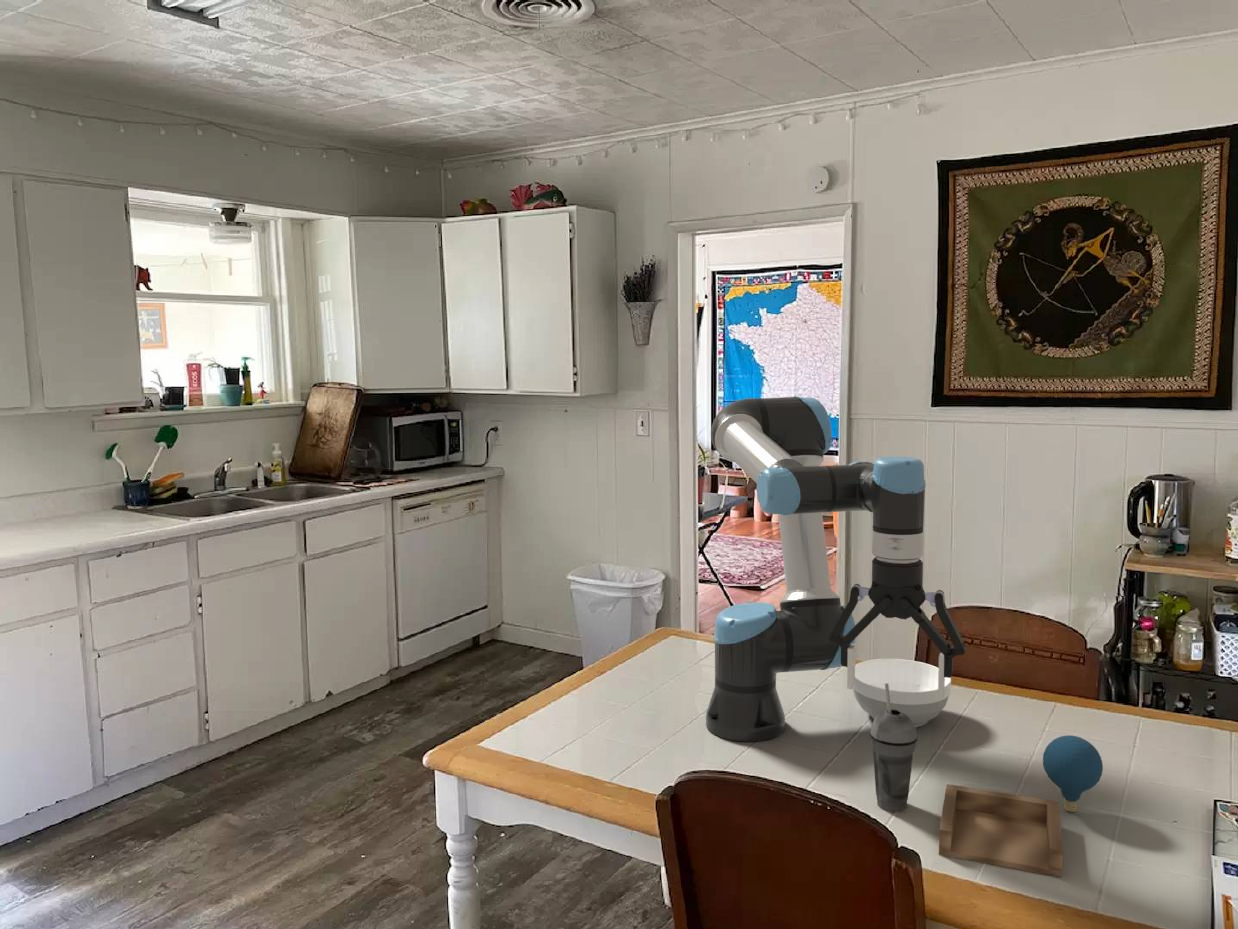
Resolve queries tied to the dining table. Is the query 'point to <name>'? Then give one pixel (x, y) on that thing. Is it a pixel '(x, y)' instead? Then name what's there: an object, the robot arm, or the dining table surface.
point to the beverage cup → (892, 756)
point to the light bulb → (1072, 767)
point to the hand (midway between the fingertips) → (895, 691)
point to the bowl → (900, 688)
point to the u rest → (1001, 830)
